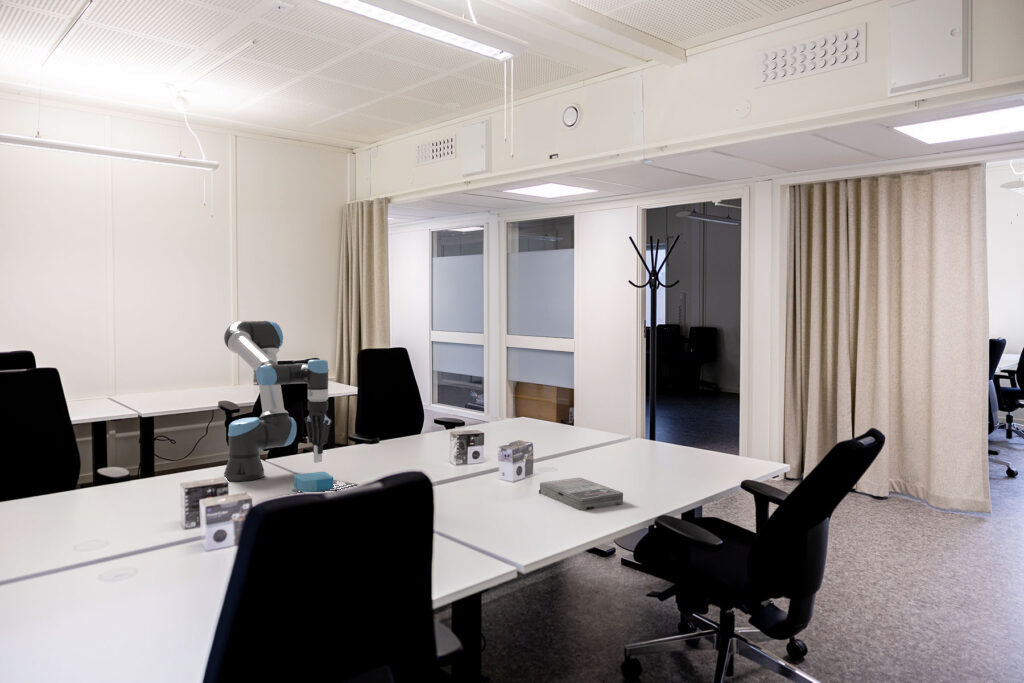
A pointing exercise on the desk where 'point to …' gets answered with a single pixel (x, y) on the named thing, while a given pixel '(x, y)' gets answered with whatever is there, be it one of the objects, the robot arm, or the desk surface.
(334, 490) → the mat
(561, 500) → the grey flat block
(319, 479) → the data package
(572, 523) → the desk surface
